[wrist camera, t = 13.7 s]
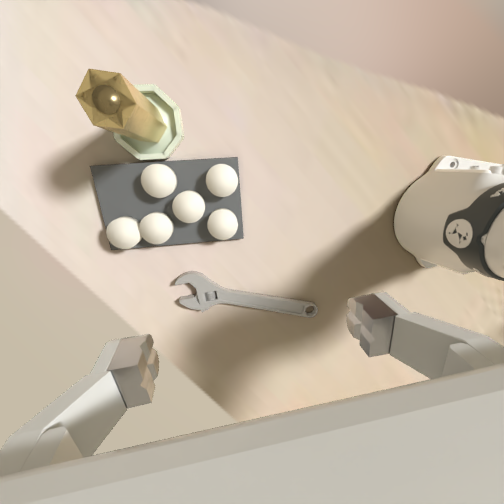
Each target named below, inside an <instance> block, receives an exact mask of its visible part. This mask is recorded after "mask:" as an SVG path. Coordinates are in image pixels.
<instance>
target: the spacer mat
mask: <svg viewBox="0 0 504 504" xmlns="http://www.w3.org/2000/svg"><path fill="white" fill-rule="evenodd" d="M90 168H91V172H92V176H93V180H94V184H95V188H96V191H97V195H98V199H99V203H100V207H101V211H102V215H103V219H104V223H105V227H106V235H107V238H108V240H109V243H110V247H111V250H118V249H130V248H141V247H152V246H163V245H175V244H186V243H197V242H209V241H220V240H231V239H243V238H244V237H243V224H242V210H241V197H240V183H239V169H238V157H230V158H214V159H197V160H180V161H164V162H147V163H130V164H114V165H97V166H90Z"/></svg>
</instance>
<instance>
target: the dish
mask: <svg viewBox="0 0 504 504" xmlns="http://www.w3.org/2000/svg"><path fill="white" fill-rule="evenodd" d="M133 86H134V87H135V88H136V89H138V90H139V91H140V92H141V93H142V94H143V95H144V96H145V97H146V98H147V99H148V100H149V101H150V102H151V103H153V104H154V105H155V106H156V107H157V108H158V110H159V112H160V114H161V116H162V118H163V120H164V121H165V123H166V125H167V129H166V130H165V132H164V134H163V136H162V137H161V139H160V141H159V143H154V142H146V141H139V140H136V139H133V138H130V137H127V136H124V135H121V134H118V133H115V132H113V134H114V139H115V140H116V142H117V143H119V144H120V145H121V146H122V147H124V148H125V149H126V150H127V151H129V152H130V153H131V154H132V155H133V156H135V157H136V158H137V159H139V160H156V159H168V158H170V156H171V155H172V154H173V152H174V151H175V150H176V148H177V147H178V146H179V145H180V143H181V142H182V141H183V139H184V138H182V137H184V132H183V125H182V117H181V110H180V108H179V107H178V105H177V104H176V103H174V102H173V101H172V100H171V99H170V98H169V97H168V96H167V95H166V94H165V93H164V92H163V91H162V90H161V89H159V88H158V87H157V86H156V85H154V84H143V85H133Z"/></svg>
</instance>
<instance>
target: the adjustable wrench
mask: <svg viewBox="0 0 504 504" xmlns="http://www.w3.org/2000/svg"><path fill="white" fill-rule="evenodd" d="M185 283H190V284H191V285H193V286H194V287H195V288H196V291H197V293H196V295H194V294H193V295H188V296H182V297H180V300H179V301H180V303H181V304H182V305H183V306H185V307H187V308H190V309H195V310H201V311H202V312H204V311H205V310H208V309H209V307H210V306H213V305H215V304H219V303H227V304H233V305H239V306H245V307H251V308H256V309H262V310H268V311H274V312H280V313H285V314H291V315H297V316H303V317H309V318H311V317H314V316H315V315H316V314H317V312H318V308H317V307H316V305H315V304H314V303H312V302H307V301H301V300H295V299H288V298H282V297H276V296H269V295H263V294H257V293H250V292H244V291H238V290H231V289H227V288H224V287H222V286H220V285H218V284H216V283H215V282H213V281H212V280H210V279H209V278H208V277H206V276H205V275H203V274H202V273H200V272H196V271H189V272H185V273H183V274H181V275H180V276H179V277H178V278H177V279H176V282H175V285H180V284H185ZM215 291H216V293H217V296H216V293H215ZM309 306H313V307H314V310H313V311H312V312H310V313H307V312H306V311H305V310H306V308H307V307H309Z"/></svg>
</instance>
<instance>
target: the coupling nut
mask: <svg viewBox="0 0 504 504" xmlns="http://www.w3.org/2000/svg"><path fill="white" fill-rule="evenodd" d="M76 97H77V99H78V101H79V102H80V104H81V106H82V107H83V109H84V111H85V112H86V114H87V115H88V117H89V119H90V120H91V122H92V124H93V125H94V126H97V127H100V128H103V129H106V130H109V131H112V132H115V133H118V134H121V135H124V136H127V137H130V138H133V139H136V140H139V141H146V142H154V143H159V141H160V139H161V137H162V136H163V134H164V132H165V130H166V129H167V125H166V123H165V121H164V120H163V118H162V116H161V114H160V112H159V110H158V108H157V107H156V106H155V105H154V104H153V103H151V102H150V101H149V100H148V99H147V98H146V97H145V96H144V95H143V94H142V93H141V92H140V91H139V90H138V89H136V88H135V87H134V86H133V85H132V84H131V83H130V82H129V81H128V80H127V79H126V78H125V77H124V76H123V75H122V74H120V73H115V72H108V71H101V70H94V69H88V71H87V73H86V75H85V77H84V79H83V82H82V84H81V86H80V88H79V90H78V92H77V94H76Z"/></svg>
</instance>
